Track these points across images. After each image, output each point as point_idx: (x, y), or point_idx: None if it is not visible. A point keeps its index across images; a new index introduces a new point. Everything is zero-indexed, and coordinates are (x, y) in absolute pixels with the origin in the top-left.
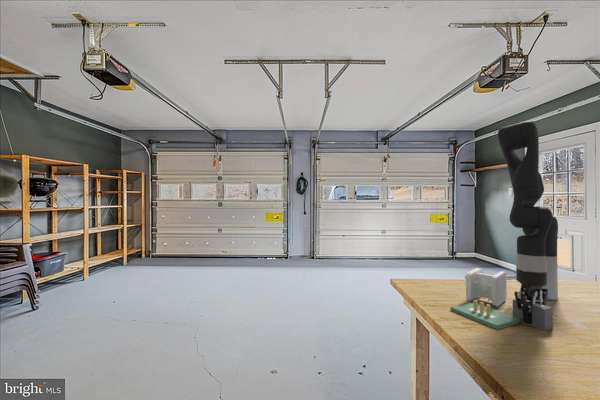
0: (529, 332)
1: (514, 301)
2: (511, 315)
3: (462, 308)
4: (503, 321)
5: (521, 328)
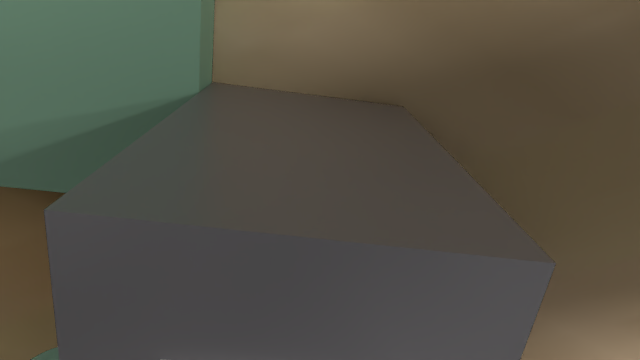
0: (6, 337)
1: (64, 254)
2: (194, 73)
3: None
4: None
5: (23, 259)
